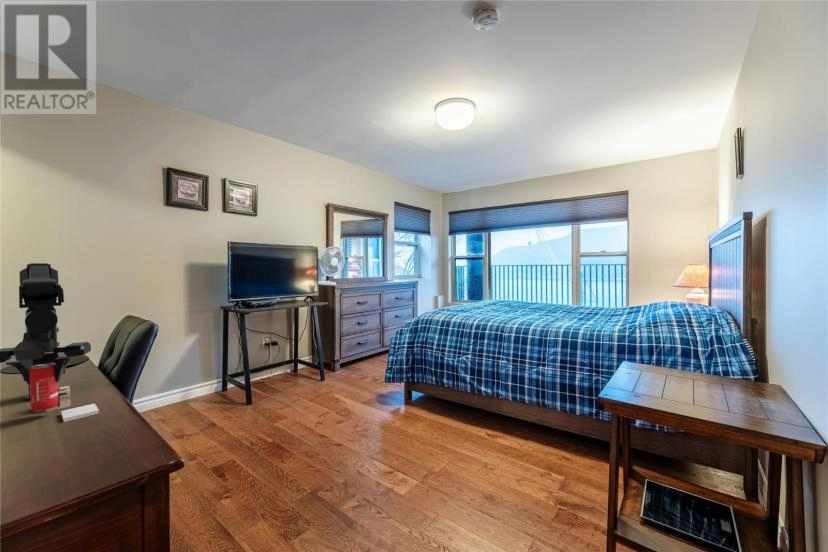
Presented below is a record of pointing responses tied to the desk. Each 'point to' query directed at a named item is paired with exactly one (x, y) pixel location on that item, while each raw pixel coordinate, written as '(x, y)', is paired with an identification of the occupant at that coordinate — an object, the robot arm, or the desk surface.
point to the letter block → (63, 398)
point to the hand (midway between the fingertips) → (44, 382)
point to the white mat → (79, 412)
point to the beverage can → (43, 387)
